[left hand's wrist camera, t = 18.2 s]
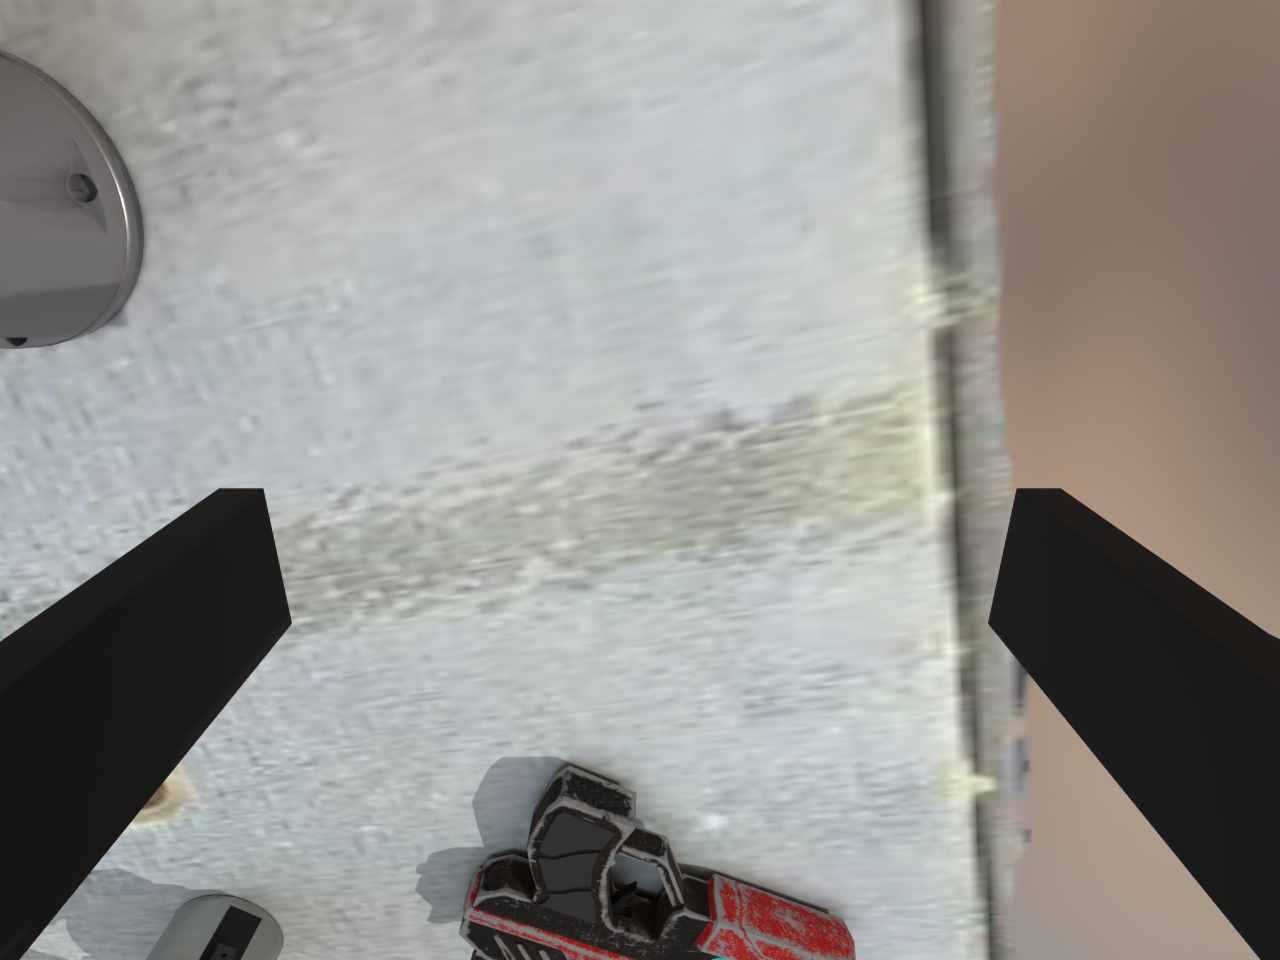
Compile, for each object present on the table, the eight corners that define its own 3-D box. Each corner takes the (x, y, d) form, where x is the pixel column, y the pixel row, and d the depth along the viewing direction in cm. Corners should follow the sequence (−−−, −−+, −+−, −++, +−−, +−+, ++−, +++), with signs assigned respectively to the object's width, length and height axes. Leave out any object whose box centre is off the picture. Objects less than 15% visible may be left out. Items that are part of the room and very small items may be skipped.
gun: (523, 794, 48) (437, 964, 55) (916, 930, 53) (790, 1072, 60) (534, 746, 53) (453, 909, 60) (897, 875, 57) (782, 1014, 64)
